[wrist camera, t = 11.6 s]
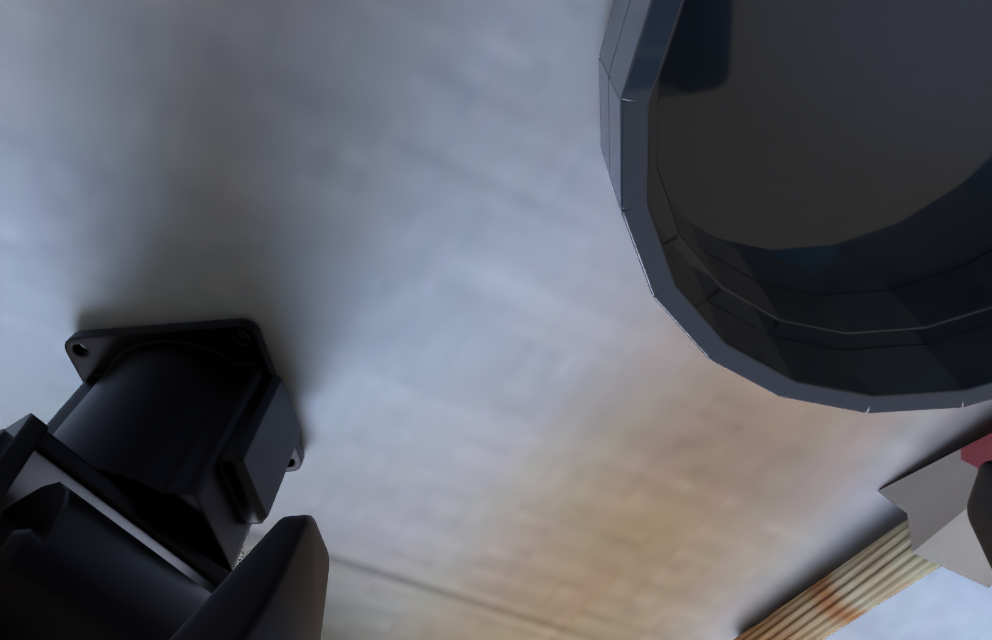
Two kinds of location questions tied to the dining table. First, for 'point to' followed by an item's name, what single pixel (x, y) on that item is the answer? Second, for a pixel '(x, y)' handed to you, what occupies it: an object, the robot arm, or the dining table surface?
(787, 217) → the fruit bowl
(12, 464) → the robot arm
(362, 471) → the dining table surface
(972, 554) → the paintbrush
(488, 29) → the dining table surface
